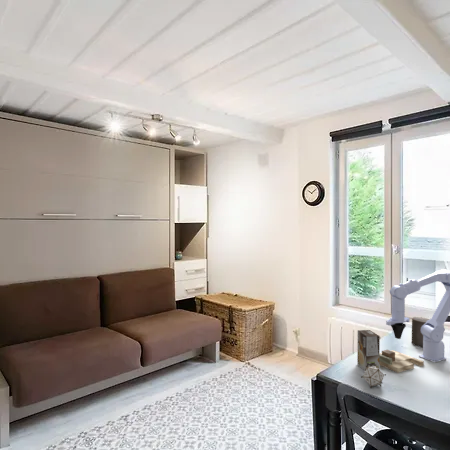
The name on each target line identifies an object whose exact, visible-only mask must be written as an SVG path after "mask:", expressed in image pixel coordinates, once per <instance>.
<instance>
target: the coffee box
mask: <svg viewBox="0 0 450 450" xmlns="http://www.w3.org/2000/svg"><path fill="white" fill-rule="evenodd" d="M380 340H381V338H380V335H378V334H377V333H376V332H374V331H372V330H370V329H360V330H357V357H356V358H357V366H358V367H359V368H360V369H362V370H363V371H364V372H365V369H366V368H367V367H371V366H375V364H376V367H377V368H378V369H379V370H380V365H379V353H380ZM366 366H367V367H366Z"/></svg>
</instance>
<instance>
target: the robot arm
mask: <svg viewBox="0 0 450 450" xmlns="http://www.w3.org/2000/svg"><path fill="white" fill-rule="evenodd" d="M435 282H436V283H437V282H440V283H441V284H442V285H443V286H444V288H445V292H444V293H443V296H442V298H441V300H440V302H439V303H438V306H437V307H436V309H435V311H434V312H433V315H432V316H431V318H428V319H429V320H427V322H426V323H425V324H424V325H423V326H422V327H421V333H422V334H423V347H422V354H419V356H418V357H419V358H422V359H425V360H427V361H430V362H433V363H436V362H440V361H444V360H447V357H445V343H444V341H442V340H444V334H445V333H444V332H445V331H446V328H445V325H444V324H445V322H446V321H447V319H448V317H449V315H450V270H448V269H446V268H442V269H440V270H435V272H433V273H431V274H428V275H426V276H424V277H422V278H420V279H418V280H417V279H412V278H410V279H408V281H406V282H404V283H402V282H401V283H399V285H397V284H395V285H393V286H392V287H391V288H390V290H389V294H390V295H391V317H389V319H388V320H387V319H386V320H385V325H386V326H389V327H391V329H392V331H393V334H394V338H395V339H397V340H400V339H401V338H402V335H403V332H404V331H405V330H404V329H405V328H406V327H407V324H406V323H410V317H405V315H406V314H405V312H406V311H405V310H406V309H405V308H406V303H405V302H406V298H407V296H408V295H411V294H413V293H416V292H419V291H420V290H421V288H422V287H424V286H427V285H430V284H433V283H435Z"/></svg>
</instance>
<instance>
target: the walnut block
mask: <svg viewBox="0 0 450 450" xmlns="http://www.w3.org/2000/svg"><path fill="white" fill-rule="evenodd" d="M381 353H382V355H384V356H386V357H389V358H391V359H392V362H393V361H395V352H393V351H391V349H384V350H381Z"/></svg>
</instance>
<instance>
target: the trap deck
mask: <svg viewBox="0 0 450 450" xmlns="http://www.w3.org/2000/svg"><path fill="white" fill-rule="evenodd" d="M390 351H393V352H395V361H393V362H392V359H391V358H389V357H386V356H384V355H382V352H379V366H381V367H383V368H386V369H387V370H391V371H392V372H395V373H403V372H406V371H410V370H413V369H415V365H416V366H419V367H424V366H425V362H424V360H421V359H419V358H417V357H416V358H415V357H412V356H411V355H408V354H405V353H403V352H400V351H397V350H391V349H390Z"/></svg>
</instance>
